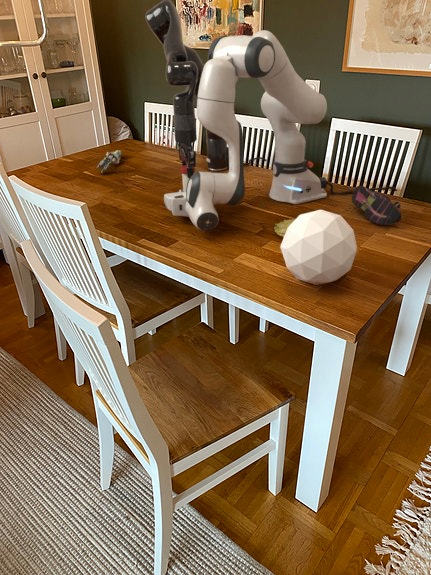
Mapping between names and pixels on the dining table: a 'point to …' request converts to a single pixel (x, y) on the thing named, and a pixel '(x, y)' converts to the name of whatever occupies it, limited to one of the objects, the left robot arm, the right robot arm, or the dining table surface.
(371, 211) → the athletic shoe
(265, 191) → the dining table surface
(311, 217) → the sphere
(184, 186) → the beige cylinder
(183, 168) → the lid
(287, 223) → the decorative object
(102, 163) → the figurine
